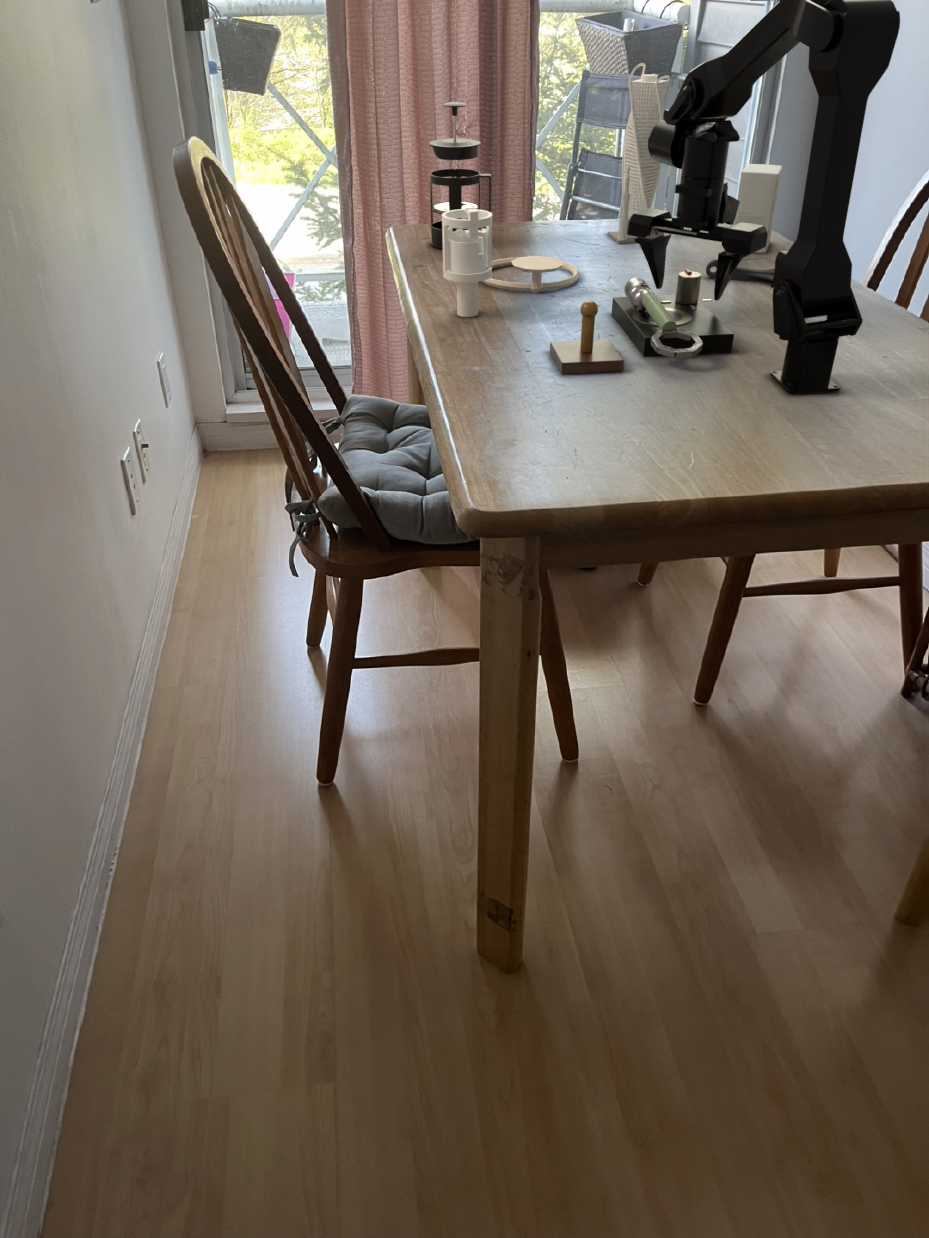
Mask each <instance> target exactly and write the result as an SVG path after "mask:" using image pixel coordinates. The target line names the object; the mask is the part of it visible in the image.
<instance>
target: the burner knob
mask: <svg viewBox="0 0 929 1238" xmlns="http://www.w3.org/2000/svg"><path fill="white" fill-rule="evenodd" d="M701 282H702V273H700V272H699V271H692V270H691V269H689V268H685V269H684V271H680V272H679V273H678V275H677V284H676V292H675V295H676V299H675V301H676V302H677V303H680V304H688V305H689V304H696V303H697V302H698V300H699V298H700V297H699V296H700V290H701Z"/></svg>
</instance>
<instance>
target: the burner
mask: <svg viewBox="0 0 929 1238" xmlns="http://www.w3.org/2000/svg"><path fill="white" fill-rule="evenodd" d="M665 309H666V311H667V312H668V313H669V315H670V316H671V317H672V319H673V320H674V322H675V323H676V325H677V326H680V325H684V324H687V323H689V322H690V321H691V319H692V317H691V315H690V314H688V313H686V312H684V311H681V310H678V309H673V308H665ZM633 318H634V319H635V320H636V321H638V322H640V323H643V324H647V325H652V326H657V324H656V323H655V321H654V320H653V318H652V317H651V316H650V314H649V313H648V311H638V310H637V311H635V312H634V313H633Z"/></svg>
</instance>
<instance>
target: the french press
mask: <svg viewBox="0 0 929 1238" xmlns="http://www.w3.org/2000/svg"><path fill="white" fill-rule="evenodd" d="M467 106H468V104H467V103H465V102H460V101H450V102H444V103H443V104H442V105H441V107H444V108H451V116H452V117H453V137H449V138H442V139H435V140H431V141H429V143H428V144H429V146H430V147H432V151H433V153H434V154H435V157H436V158H437V159H439V160H442V161H443V160H444V161H453V168H442V169H436V170H433V171H430V173H429V186H430V188H429V190H430V222H431V223H430V227H431V228H430V230H431V231H430V232H431V240H430V243H429V244H430V246H431V247H432V248H435V249H438V250H442V251H443V238H442V220H438V221H435V222H434V213H435V214H439V215H442V214H443V213H444V212H447V211H451V210H457V209H465V208H466V207H474V208H475V209H478V210H481V194H482V193H481V191H482V189H481V187H482V186H481V181H482V180H481V178H483V179H484V178H487V179H488V178H489V179H488V212H491V213H492V174H490V173H481V171H479V170H475V169H472V168H471V169H470V168H457V161H464V160H473V159H476V158H478V157H479V147H480V146H481V144H482V143H481V141H479V140H477V139H470V138H465V137H464V138H463V137H457V116H458V108H463V107H467ZM477 184H478V204H475V203H473V202H467V201H463V199H462V197H463V195H462V194H463V193H462V191H463V187H467V186H474V185H477ZM433 185H437V186H442V187H448V202H439V203H436V204H434V205H433V203H434V202H433V200H434V199H433ZM457 219H462V220H463V218H457ZM448 227H449V226H448ZM482 228H484V229H486V227H482ZM482 228H478V230H480V231H481V229H482ZM452 229H453V232H455V231H456V229H458V228H452ZM463 230H468V229H463Z"/></svg>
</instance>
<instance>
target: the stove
mask: <svg viewBox="0 0 929 1238" xmlns="http://www.w3.org/2000/svg"><path fill="white" fill-rule="evenodd" d="M655 296H656V297H657V299H658V300H659V301H660V303H661V304H662V305H663V307H664V308H673V309H678V310H681V311H684V312H686V313H688V314H690V315H691V317H692V319H691V321H690V322H689V323H687V324H684V325H680V326H677V329H683V330H686V331H689V332H693V333H695V334H697V335H698V336H699V338H700V339H701V340H702V342H703V346H702V350H701V351H700V352H699V353H698V354H697V355H703V354H706V355H707V354H727V353H728V354H729V353H732V351H733V345H734V344H733V343H734V337H735V333H734V332H732V330H731V329H730V328H728V326H727V325H726V324H725V323H724V322H722V321H721V320H720V319H719V318H718V317H717V316H716V315H715V314H714V313H713V312H712V311H711V310H710V309H709V308H708V307H707V306H706V305H705V304H703V303H702V302H712V301H713V299H712V298H708V299H704V298H703V299H701V300H699V299H698V302H697V303H696V304H689V305H688V304H680V303H677V302H676V301H675V299H676V294H663V295H662V294H661V295H660V294H659V295H655ZM701 301H702V302H701ZM611 303H612V304H611V316H612V317H613V318H614V320H615V321H616V323H618V325H619V326H620V328H621V329H622V330H623V331H624V333H625V334H626V335H627V337H628V338H629V340H630V341H631V342H632V343H633V344H634V346H635V347H636V349H637V350H638V352H640V354H641V355H642V356H643V357H659V356H660V357H662V356H664V355H661V354H658V352H655V350H654V349H653V347H652V346H651V337H652V336H653V335H654V334H655V333H656V332H658V331H659V330H660V328H659V327H658V326H652V325H647V324H643V323H640V322H638V321H636V320H635V319H634V318H633V313H634V312H635V311H637V310H636V309H635V308H634V307H633V305H632V304H631V303H630V301H629V300H628V298H627V297H626V296H617V297H616V296H614V297H612V302H611ZM661 343H662V344H663V345H664V346H668V347H671V348H674V349H684V348H691V347H692V346H693V345H692V344H691V342H690V341H686V340H683V339H680V338H666V339H663V340H662V341H661Z"/></svg>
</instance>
